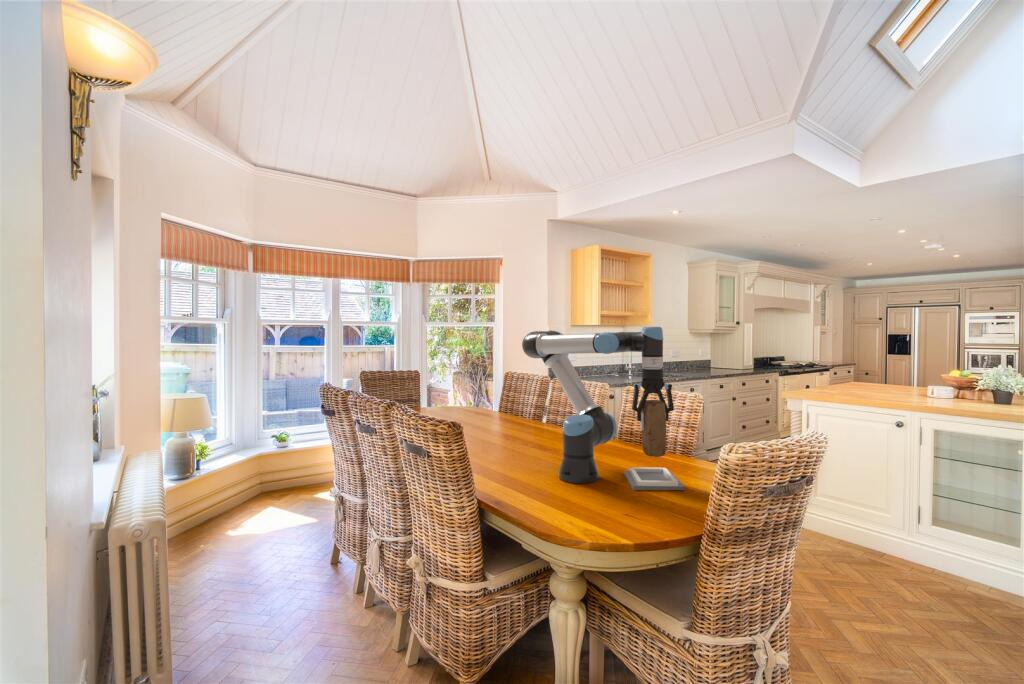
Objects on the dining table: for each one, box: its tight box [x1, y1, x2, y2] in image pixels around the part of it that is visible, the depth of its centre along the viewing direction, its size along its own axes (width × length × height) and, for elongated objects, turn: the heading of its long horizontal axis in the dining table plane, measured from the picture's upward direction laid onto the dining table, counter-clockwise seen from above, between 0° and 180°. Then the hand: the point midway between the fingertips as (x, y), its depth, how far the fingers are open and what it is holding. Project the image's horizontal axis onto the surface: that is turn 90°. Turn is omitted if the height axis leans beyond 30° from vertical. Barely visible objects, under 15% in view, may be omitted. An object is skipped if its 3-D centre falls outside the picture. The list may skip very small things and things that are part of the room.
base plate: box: [623, 466, 686, 491], centre depth 175 cm, size 18×18×3 cm
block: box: [641, 399, 667, 458], centre depth 174 cm, size 11×8×20 cm
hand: (652, 429), depth 174 cm, fingers closed on block, 7 cm apart
